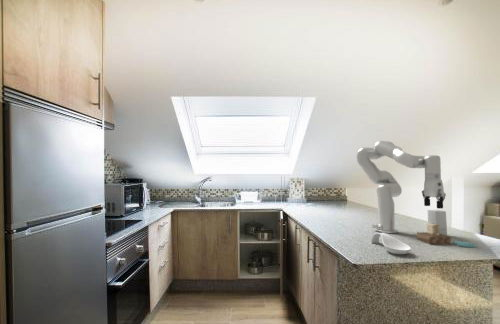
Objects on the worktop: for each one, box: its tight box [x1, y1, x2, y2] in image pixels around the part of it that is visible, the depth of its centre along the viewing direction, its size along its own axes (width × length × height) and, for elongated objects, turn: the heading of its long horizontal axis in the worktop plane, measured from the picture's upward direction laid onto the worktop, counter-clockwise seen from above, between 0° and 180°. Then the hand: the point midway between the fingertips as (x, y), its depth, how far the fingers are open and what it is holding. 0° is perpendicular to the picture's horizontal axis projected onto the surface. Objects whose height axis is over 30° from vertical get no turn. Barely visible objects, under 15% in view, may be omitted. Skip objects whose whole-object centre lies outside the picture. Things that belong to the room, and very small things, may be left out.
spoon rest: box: [370, 232, 412, 256], centre depth 135 cm, size 24×12×7 cm, turn 9°
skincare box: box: [427, 209, 448, 236], centre depth 163 cm, size 8×7×16 cm
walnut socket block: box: [416, 231, 452, 245], centre depth 148 cm, size 12×10×4 cm
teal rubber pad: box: [453, 240, 476, 249], centre depth 142 cm, size 9×9×1 cm
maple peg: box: [426, 222, 439, 236], centre depth 149 cm, size 4×4×10 cm
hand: (433, 207), depth 149 cm, fingers open, 9 cm apart
